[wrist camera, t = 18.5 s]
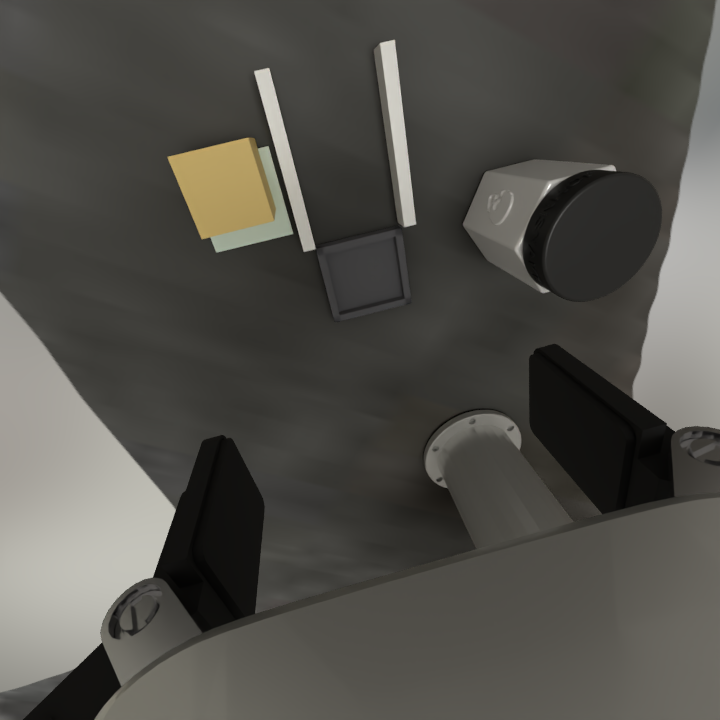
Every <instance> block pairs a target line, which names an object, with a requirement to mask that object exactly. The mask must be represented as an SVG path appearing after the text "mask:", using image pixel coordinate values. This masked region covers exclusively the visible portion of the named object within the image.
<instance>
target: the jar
mask: <svg viewBox="0 0 720 720" xmlns="http://www.w3.org/2000/svg"><path fill="white" fill-rule="evenodd" d="M661 223H662V206H661V201H660V198H659V195H658V193H657V191H656V189H655V188H654V186H653V185H652V184H651V183H650V182H649V181H648V180H647V179H645V178H644V177H642V176H640V175H637V174H634V173H629V172H620V171H616V169H615V167H614V166H613V165H605V164H591V163H578V162H565V161H552V160H538V159H534V160H530V161H526V162H522V163H518V164H514V165H510V166H506V167H502V168H498V169H493V170H489V171H486V172H485V173H484V175H483V177H482V180H481V182H480V185H479V187H478V189H477V192H476V194H475V196H474V199H473V201H472V203H471V206H470V208H469V210H468V213H467V215H466V218H465V220H464V222H463V227H464V228H465V230H466V231H467V232H468V234H469V235H470V237H471V238H472V239H473V241H474V242H475V244H476V245H477V247H478V248H479V249H480V251H481V252H482V254H483V255H484V257H485V258H486V260H487V261H489V262H491V263H492V264H494V265H496V266H497V267H499V268H501V269H502V270H504V271H506V272H507V273H509V274H511V275H512V276H514V277H516V278H518V279H519V280H521V281H523V282H524V283H526V284H528V285H529V286H531V287H533V288H534V289H536V290H538V291H539V292H541V293H546V292H552V293H554V294H556V295H557V296H559V297H561V298H563V299H566V300H569V301H575V302H585V301H591V300H595V299H599V298H601V297H604V296H606V295H608V294H610V293H612V292H614V291H616V290H617V289H619V288H620V287H621V286H623V285H624V284H625V283H627V282H628V281H629V280H630V279H631V278H632V277H633V276H634V275H635V274H636V273H637V272H638V271H639V270H640V268H641V267H642V266H643V265H644V263H645V262H646V260H647V259H648V257H649V256H650V254H651V252H652V250H653V248H654V246H655V244H656V241H657V239H658V236H659V232H660V228H661Z"/></svg>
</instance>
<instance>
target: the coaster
mask: <svg viewBox="0 0 720 720" xmlns="http://www.w3.org/2000/svg"><path fill="white" fill-rule="evenodd" d="M258 151H259V155H260V158H261V161H262V164H263V168H264V171H265V174H266V178H267V181H268V184H269V187H270V191H271V194H272V197H273V201H274V204H275V207H276V212H275V219H274V221H273V222H269V223H265V224H261V225H257V226H253V227H249V228H245V229H241V230H237V231H233V232H229V233H225V234H221V235H217V236H213V237H210V238H211V240H212V243H213V245H214V248H215V250H216V253H217V252H221V251H225V250H229V249H234V248H238V247H242V246H246V245H250V244H254V243H258V242H262V241H266V240H270V239H275V238H279V237H283V236H287V235H291V234H293V230H292V227H291V223H290V220H289V216H288V213H287V209H286V206H285V202H284V199H283V195H282V192H281V188H280V184H279V181H278V177H277V174H276V170H275V167H274V163H273V160H272V156H271V153H270V149H269V146H267V147H263V148H258Z"/></svg>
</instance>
